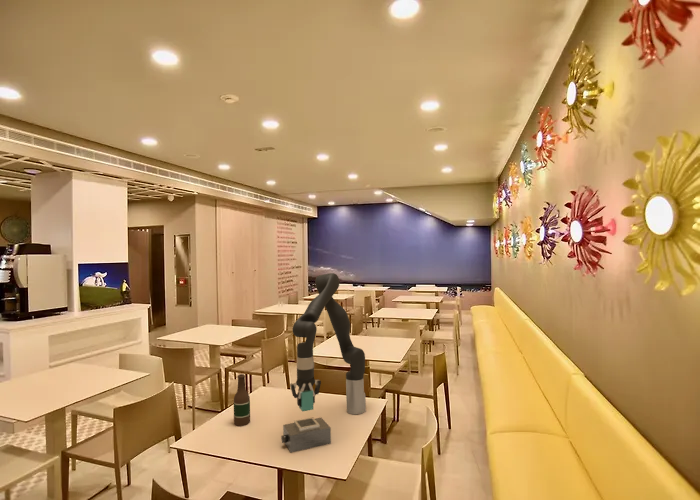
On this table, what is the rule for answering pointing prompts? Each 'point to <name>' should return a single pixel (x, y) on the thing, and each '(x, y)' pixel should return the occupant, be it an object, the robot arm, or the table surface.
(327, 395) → the table surface
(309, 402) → the block
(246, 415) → the beer bottle
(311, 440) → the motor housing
